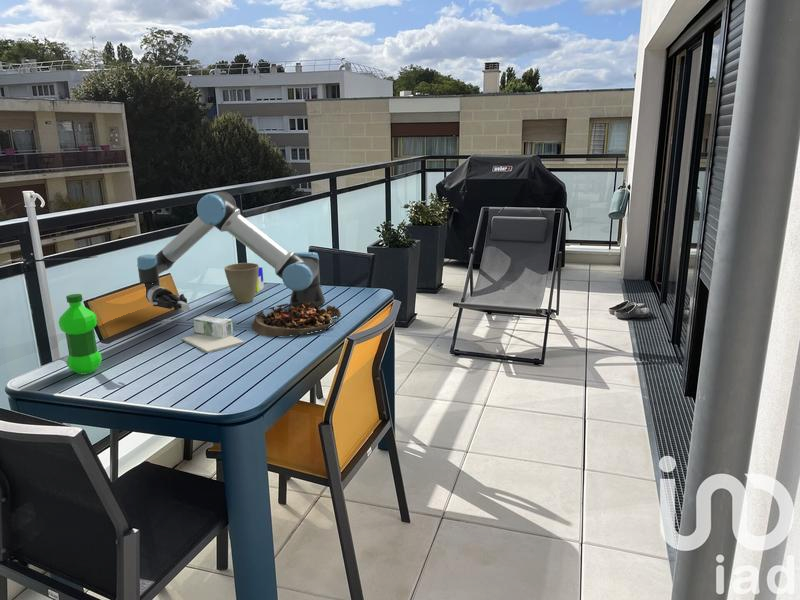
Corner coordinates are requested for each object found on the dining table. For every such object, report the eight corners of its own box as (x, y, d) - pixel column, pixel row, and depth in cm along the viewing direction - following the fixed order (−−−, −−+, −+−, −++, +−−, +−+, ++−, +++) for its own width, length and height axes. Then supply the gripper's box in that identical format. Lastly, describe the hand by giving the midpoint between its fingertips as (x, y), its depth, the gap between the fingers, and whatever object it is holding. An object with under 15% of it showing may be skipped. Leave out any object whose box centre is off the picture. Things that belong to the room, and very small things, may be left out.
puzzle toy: (263, 287, 298) (262, 267, 296) (257, 292, 289) (255, 271, 286) (244, 287, 299) (242, 267, 297) (236, 292, 290) (235, 271, 287)
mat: (182, 340, 222) (182, 337, 222) (217, 331, 232) (217, 329, 231) (207, 353, 208) (207, 351, 208) (244, 343, 217) (244, 341, 217)
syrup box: (204, 329, 232) (234, 333, 226) (193, 333, 227) (223, 338, 221) (203, 314, 231) (233, 319, 224) (191, 318, 225) (222, 323, 219)
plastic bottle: (94, 363, 201) (82, 289, 194) (109, 370, 194) (98, 294, 188) (62, 372, 193) (49, 296, 187) (77, 380, 187) (64, 301, 180)
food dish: (329, 310, 261) (328, 293, 259) (351, 334, 231) (351, 314, 229) (245, 318, 248) (244, 299, 246) (257, 344, 219) (256, 323, 217)
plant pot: (224, 299, 277) (221, 265, 273) (257, 295, 283) (254, 261, 279) (230, 307, 264) (227, 271, 260) (264, 302, 270) (262, 267, 266)
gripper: (177, 302, 252) (204, 313, 236) (145, 308, 243) (171, 320, 227) (175, 284, 250) (202, 294, 234) (143, 290, 241) (169, 301, 225)
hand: (187, 307), depth 230 cm, fingers closed
